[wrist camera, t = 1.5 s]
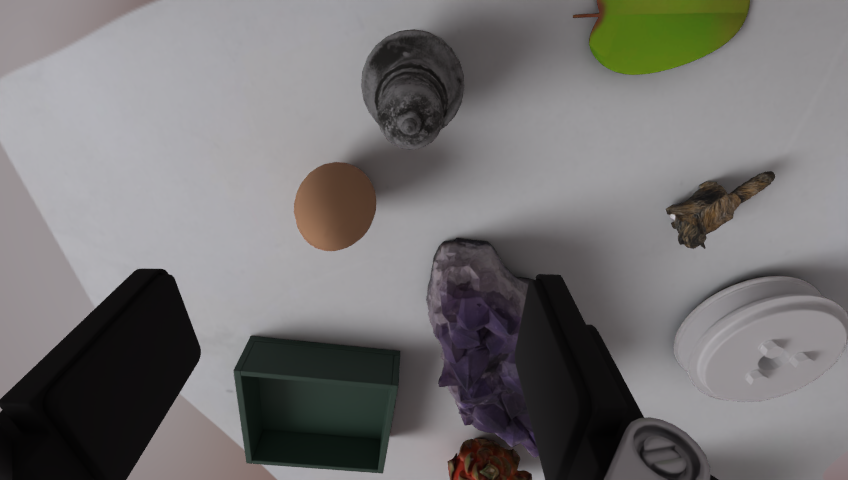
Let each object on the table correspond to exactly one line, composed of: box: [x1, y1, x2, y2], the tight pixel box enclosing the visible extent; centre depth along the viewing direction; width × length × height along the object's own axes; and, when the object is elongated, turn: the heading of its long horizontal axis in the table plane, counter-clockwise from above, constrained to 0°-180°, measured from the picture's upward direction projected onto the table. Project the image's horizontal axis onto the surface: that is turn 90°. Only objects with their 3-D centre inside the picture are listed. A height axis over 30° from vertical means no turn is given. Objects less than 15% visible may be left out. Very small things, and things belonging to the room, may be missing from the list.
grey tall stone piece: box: [361, 30, 464, 149], centre depth 21 cm, size 6×6×12 cm
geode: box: [426, 238, 539, 457], centre depth 33 cm, size 20×12×10 cm, turn 31°
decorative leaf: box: [573, 0, 750, 75], centre depth 24 cm, size 8×9×1 cm
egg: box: [294, 162, 376, 251], centre depth 26 cm, size 5×5×8 cm
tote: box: [234, 336, 400, 473], centre depth 40 cm, size 14×14×4 cm
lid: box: [674, 276, 848, 402], centre depth 35 cm, size 13×13×5 cm
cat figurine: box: [666, 171, 775, 249], centre depth 29 cm, size 3×8×4 cm, turn 124°
